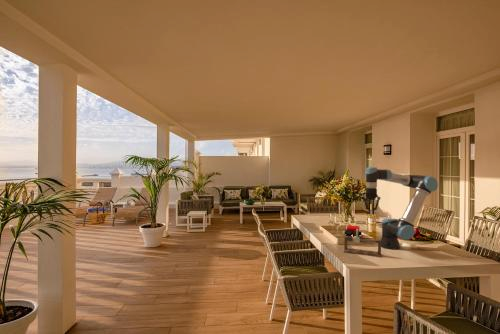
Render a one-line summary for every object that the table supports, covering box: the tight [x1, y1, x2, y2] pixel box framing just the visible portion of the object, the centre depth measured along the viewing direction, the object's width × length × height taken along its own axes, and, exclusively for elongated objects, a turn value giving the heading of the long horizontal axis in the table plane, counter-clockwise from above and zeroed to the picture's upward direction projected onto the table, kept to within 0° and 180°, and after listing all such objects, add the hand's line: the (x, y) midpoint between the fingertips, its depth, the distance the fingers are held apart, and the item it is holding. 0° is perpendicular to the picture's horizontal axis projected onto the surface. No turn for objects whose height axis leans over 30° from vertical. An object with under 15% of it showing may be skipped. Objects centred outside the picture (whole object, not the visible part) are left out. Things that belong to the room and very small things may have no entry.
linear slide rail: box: [343, 235, 382, 258], centre depth 226 cm, size 26×8×12 cm, turn 67°
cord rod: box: [347, 236, 378, 244], centre depth 226 cm, size 24×3×3 cm, turn 67°
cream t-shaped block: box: [353, 229, 361, 244], centre depth 227 cm, size 4×4×10 cm
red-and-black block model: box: [344, 224, 363, 238], centre depth 270 cm, size 15×8×25 cm
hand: (371, 218), depth 224 cm, fingers closed
